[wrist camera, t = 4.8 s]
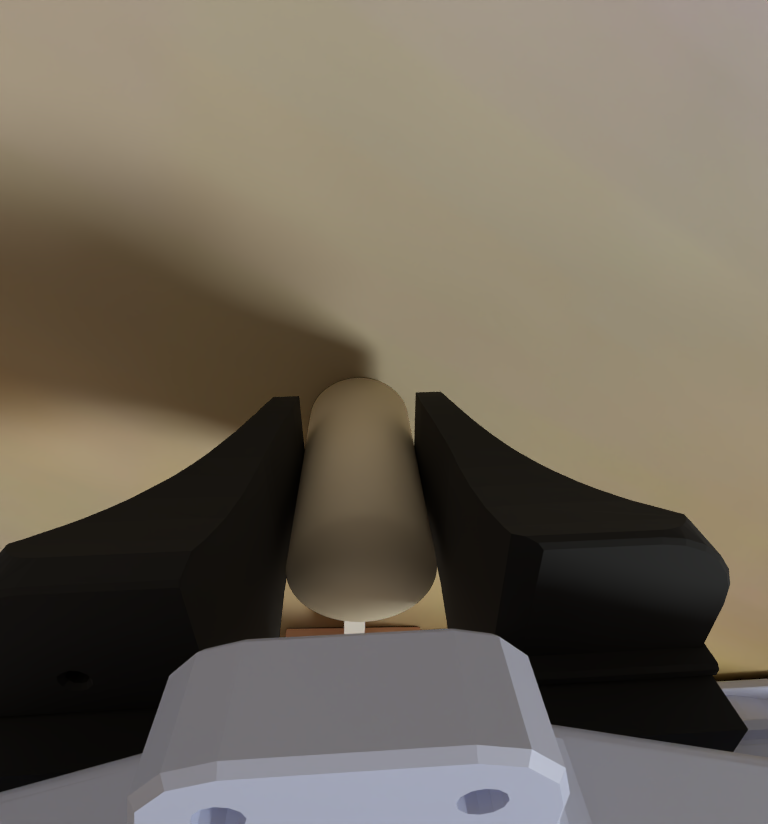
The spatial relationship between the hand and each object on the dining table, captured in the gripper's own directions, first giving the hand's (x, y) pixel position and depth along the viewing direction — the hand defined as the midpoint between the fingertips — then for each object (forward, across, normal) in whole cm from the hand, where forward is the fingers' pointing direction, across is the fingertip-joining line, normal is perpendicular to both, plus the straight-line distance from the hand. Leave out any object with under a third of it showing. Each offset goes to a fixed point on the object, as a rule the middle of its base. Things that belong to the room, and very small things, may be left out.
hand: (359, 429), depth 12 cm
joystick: (+2, 0, +7) cm, 7 cm away
